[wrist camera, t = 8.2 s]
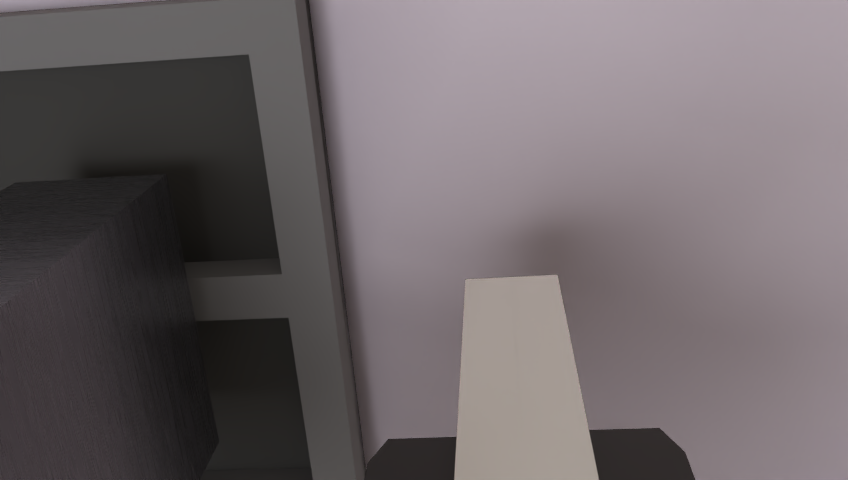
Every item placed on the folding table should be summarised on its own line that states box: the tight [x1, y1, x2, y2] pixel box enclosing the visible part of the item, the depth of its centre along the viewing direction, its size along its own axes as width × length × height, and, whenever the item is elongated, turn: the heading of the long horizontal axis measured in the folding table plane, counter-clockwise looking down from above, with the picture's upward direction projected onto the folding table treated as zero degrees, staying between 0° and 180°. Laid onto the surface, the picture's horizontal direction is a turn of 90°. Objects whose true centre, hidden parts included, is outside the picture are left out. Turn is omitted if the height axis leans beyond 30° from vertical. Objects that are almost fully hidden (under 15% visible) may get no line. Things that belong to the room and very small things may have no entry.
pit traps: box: [0, 0, 366, 480], centre depth 18 cm, size 10×12×1 cm
